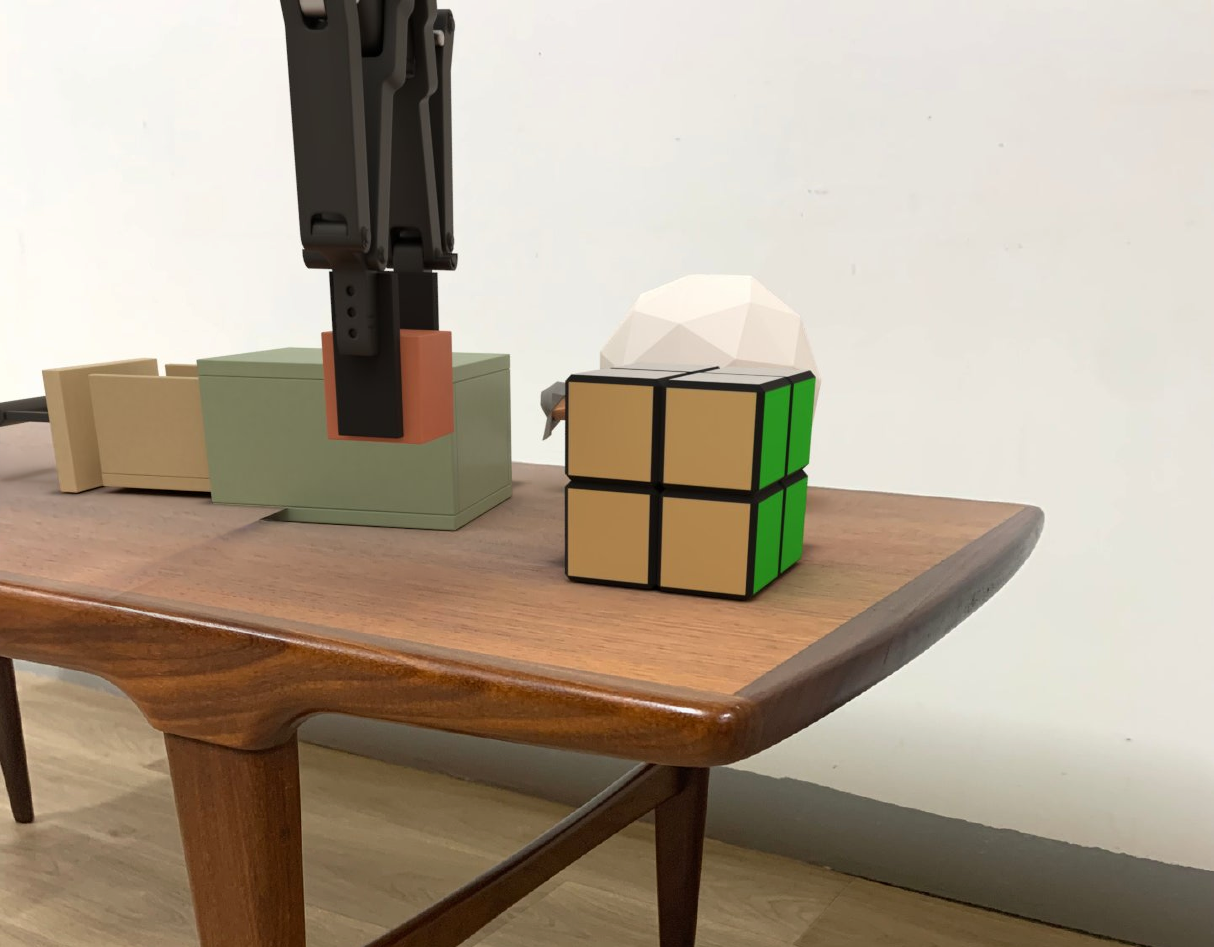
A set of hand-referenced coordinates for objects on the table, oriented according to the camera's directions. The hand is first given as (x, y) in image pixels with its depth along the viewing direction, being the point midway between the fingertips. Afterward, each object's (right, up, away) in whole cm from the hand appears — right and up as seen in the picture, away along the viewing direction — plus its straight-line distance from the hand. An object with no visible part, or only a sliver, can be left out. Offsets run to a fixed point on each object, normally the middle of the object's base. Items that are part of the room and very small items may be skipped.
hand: (392, 427), depth 56 cm
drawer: (-20, +5, +28) cm, 35 cm away
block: (0, 0, 0) cm, 0 cm away
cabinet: (-6, +3, +26) cm, 27 cm away
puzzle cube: (+14, -5, +10) cm, 18 cm away
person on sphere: (+15, +5, +31) cm, 35 cm away
